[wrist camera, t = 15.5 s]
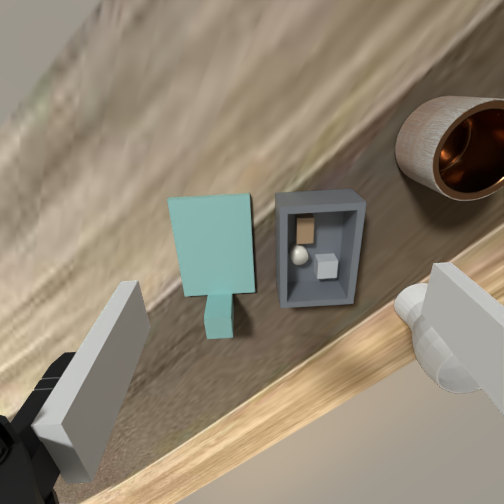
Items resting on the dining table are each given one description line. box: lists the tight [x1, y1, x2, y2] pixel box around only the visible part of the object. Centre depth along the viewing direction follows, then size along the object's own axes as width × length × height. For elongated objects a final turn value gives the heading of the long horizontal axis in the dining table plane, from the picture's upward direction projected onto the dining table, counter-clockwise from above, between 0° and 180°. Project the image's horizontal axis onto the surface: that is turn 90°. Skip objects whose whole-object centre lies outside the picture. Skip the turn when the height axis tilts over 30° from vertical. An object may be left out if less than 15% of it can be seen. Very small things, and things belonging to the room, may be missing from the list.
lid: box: [167, 193, 255, 339], centre depth 46 cm, size 21×12×7 cm, turn 3°
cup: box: [394, 283, 482, 393], centre depth 48 cm, size 11×11×15 cm
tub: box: [275, 189, 366, 308], centre depth 46 cm, size 16×11×6 cm
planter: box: [395, 96, 504, 201], centre depth 38 cm, size 11×11×10 cm
